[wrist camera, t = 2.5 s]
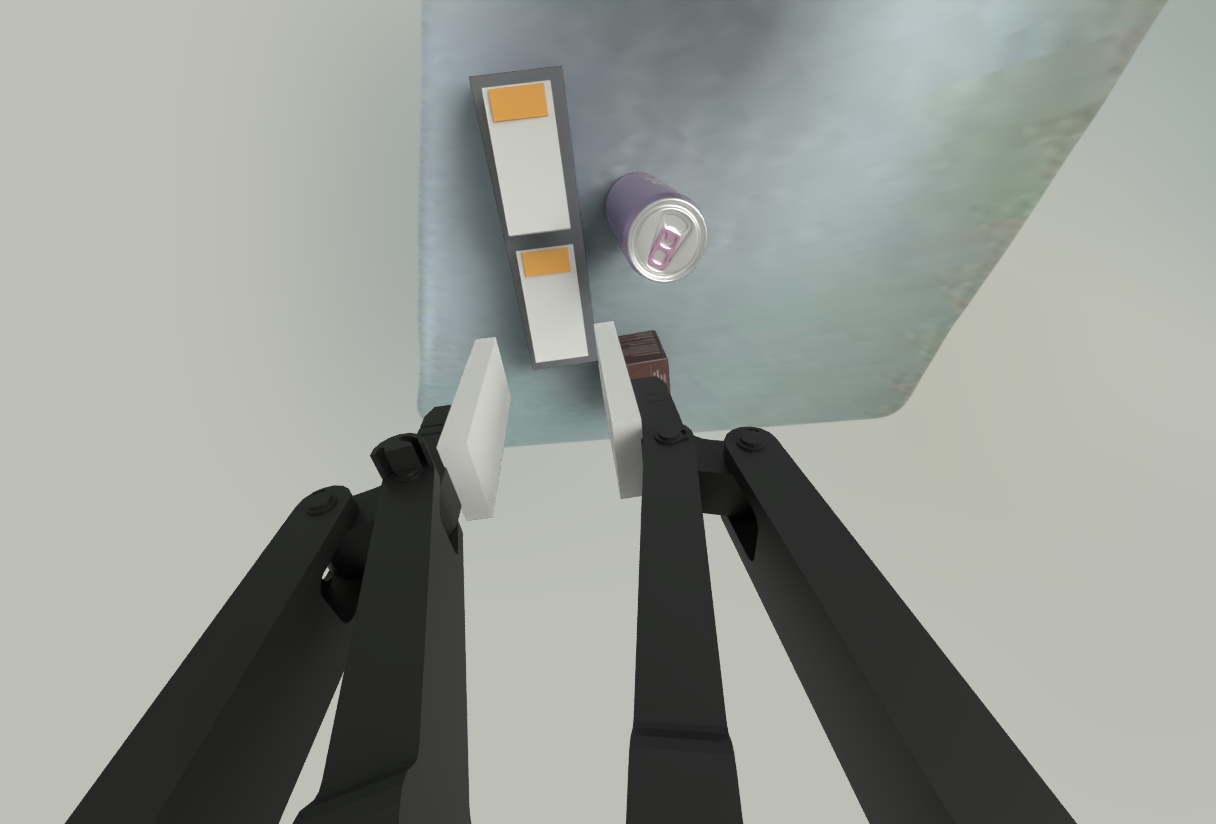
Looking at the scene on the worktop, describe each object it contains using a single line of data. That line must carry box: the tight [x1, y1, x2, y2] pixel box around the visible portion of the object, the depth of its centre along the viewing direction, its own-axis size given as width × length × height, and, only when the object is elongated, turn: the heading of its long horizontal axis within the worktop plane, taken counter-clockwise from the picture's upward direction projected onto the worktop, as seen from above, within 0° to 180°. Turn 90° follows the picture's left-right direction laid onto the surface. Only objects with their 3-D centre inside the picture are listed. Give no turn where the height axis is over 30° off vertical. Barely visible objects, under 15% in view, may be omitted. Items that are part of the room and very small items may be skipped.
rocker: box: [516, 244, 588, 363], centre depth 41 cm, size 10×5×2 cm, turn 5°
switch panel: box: [469, 66, 598, 370], centre depth 41 cm, size 25×7×5 cm, turn 6°
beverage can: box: [606, 172, 708, 283], centre depth 37 cm, size 6×6×15 cm
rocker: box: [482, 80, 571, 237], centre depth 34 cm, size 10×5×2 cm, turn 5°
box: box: [618, 330, 670, 393], centre depth 49 cm, size 6×6×7 cm
